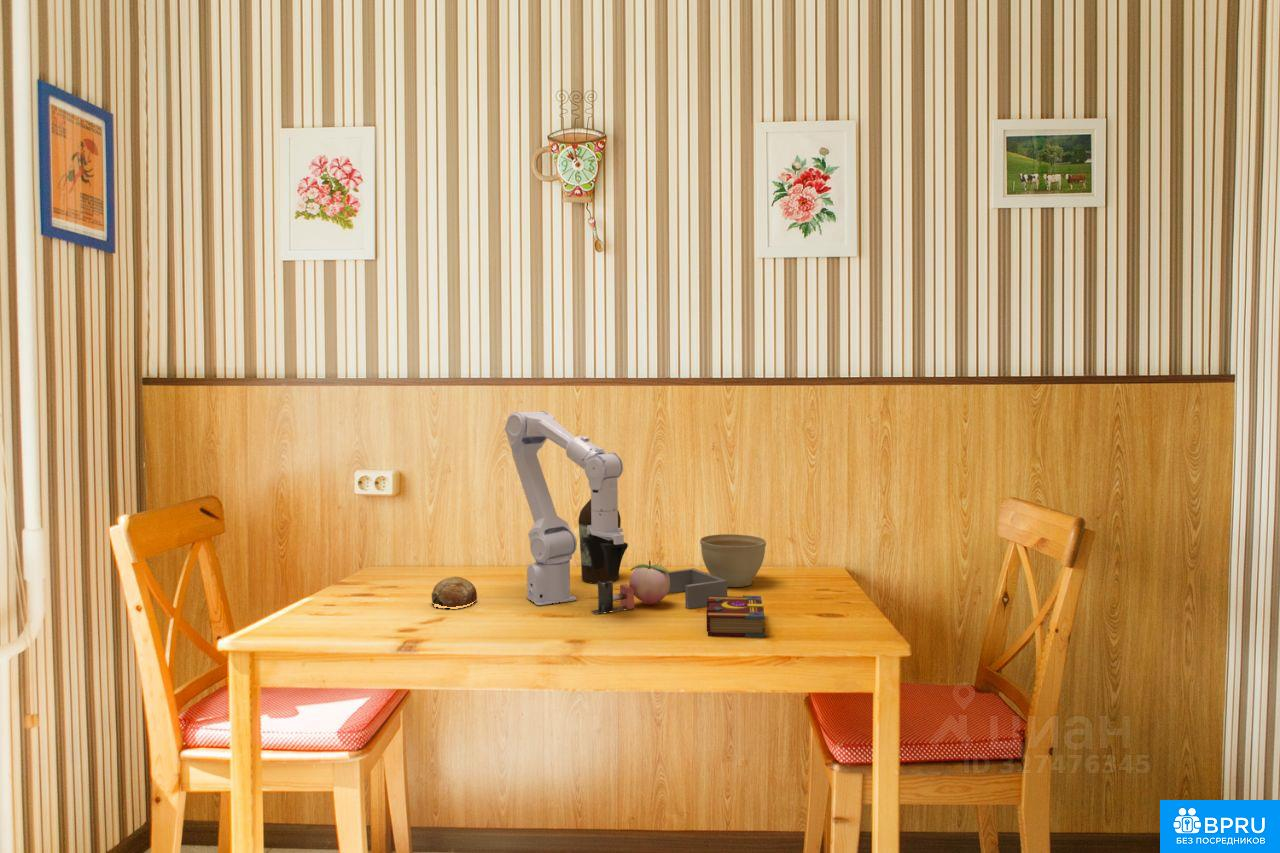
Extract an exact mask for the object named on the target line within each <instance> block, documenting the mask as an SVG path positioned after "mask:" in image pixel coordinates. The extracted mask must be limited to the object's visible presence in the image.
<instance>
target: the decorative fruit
mask: <svg viewBox="0 0 1280 853" xmlns="http://www.w3.org/2000/svg"><path fill="white" fill-rule="evenodd" d="M631 571H633V572H632V573H631V574H630V577H629V581H628V582H629V583H628V585H630V586H632V587H634V597H635V598H637V599H638V600H639V601H641V602H643V603H644V604H646V605H647V606H652V605H654V604H656V603H659V602H660V601H662V600H663V599H664V598H666V596H668V595H669V594H668V592H669V589H670V578H669V575H668V573H669V572H668V571H669V570H668V568H666V567H665V566H663V565H660V564H658V565H657V564H652V565H651V560H649V561H648V564H642V563H641V564H637V565H635V566H632V568H630V572H631Z"/></svg>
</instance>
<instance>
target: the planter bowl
mask: <svg viewBox="0 0 1280 853" xmlns="http://www.w3.org/2000/svg"><path fill="white" fill-rule="evenodd" d="M699 543H700V548H701V550H700V551H701V557H702V560H703V563H704V566H705V567H706V569H707V573H708V574H710V575H713V576H716V577H718V578H721V579H724V580H726V581H727V588H743V587H748V586H752V583H753V579H754V578H755V577H756V575H757V574H758V572H759V570H760V569H761V567H762V564H763V562H764V559H765V554H766V553H765V552H766V546H767V540H766V539H764V538H762V537H759V536H756V535H755V536H754V535H747V534H737V533H736V534H735V533H733V534H731V533H724V534H723V533H721V534H719V533H718V534H709V535H705V536H702V537H701V538H700V539H699Z"/></svg>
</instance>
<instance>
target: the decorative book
mask: <svg viewBox="0 0 1280 853" xmlns="http://www.w3.org/2000/svg"><path fill="white" fill-rule="evenodd" d="M764 608H765V607H764V604H763V601H762V595H743V596H730V595H729V596H728V595H727V596H709V599H707V606H706V633H707V636H714V637H715V636H716V637H719V636H722V637H745V638H758V637H760V638H761V639H763V638H764V639H765V638H766V633H765V628H764V627H765V624H764V622H765V621H766V614H765V611H764Z"/></svg>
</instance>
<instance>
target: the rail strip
mask: <svg viewBox="0 0 1280 853" xmlns="http://www.w3.org/2000/svg"><path fill="white" fill-rule="evenodd" d="M624 609H627V608H626V607H624V606H622V605H620V606H613V610H612V611H618V610H624ZM628 609H631V608H628ZM631 610H632V609H631ZM591 611H592V612H593V613H595V614H597V613H604V612H610V611H599V610H598V609H594V610H591ZM624 611H625V610H624ZM618 612H619V611H618ZM593 613H592V614H593ZM595 614H594V615H595Z"/></svg>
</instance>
